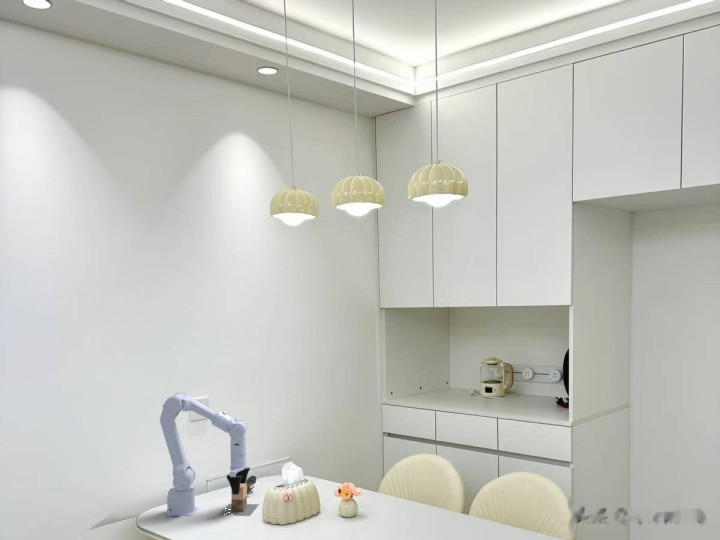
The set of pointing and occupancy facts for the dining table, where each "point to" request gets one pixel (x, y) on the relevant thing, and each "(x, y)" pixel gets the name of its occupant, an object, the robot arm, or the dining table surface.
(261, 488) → the dining table surface
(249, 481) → the eagle figurine
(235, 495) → the terracotta block
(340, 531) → the dining table surface
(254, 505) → the mat
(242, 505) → the walnut block
